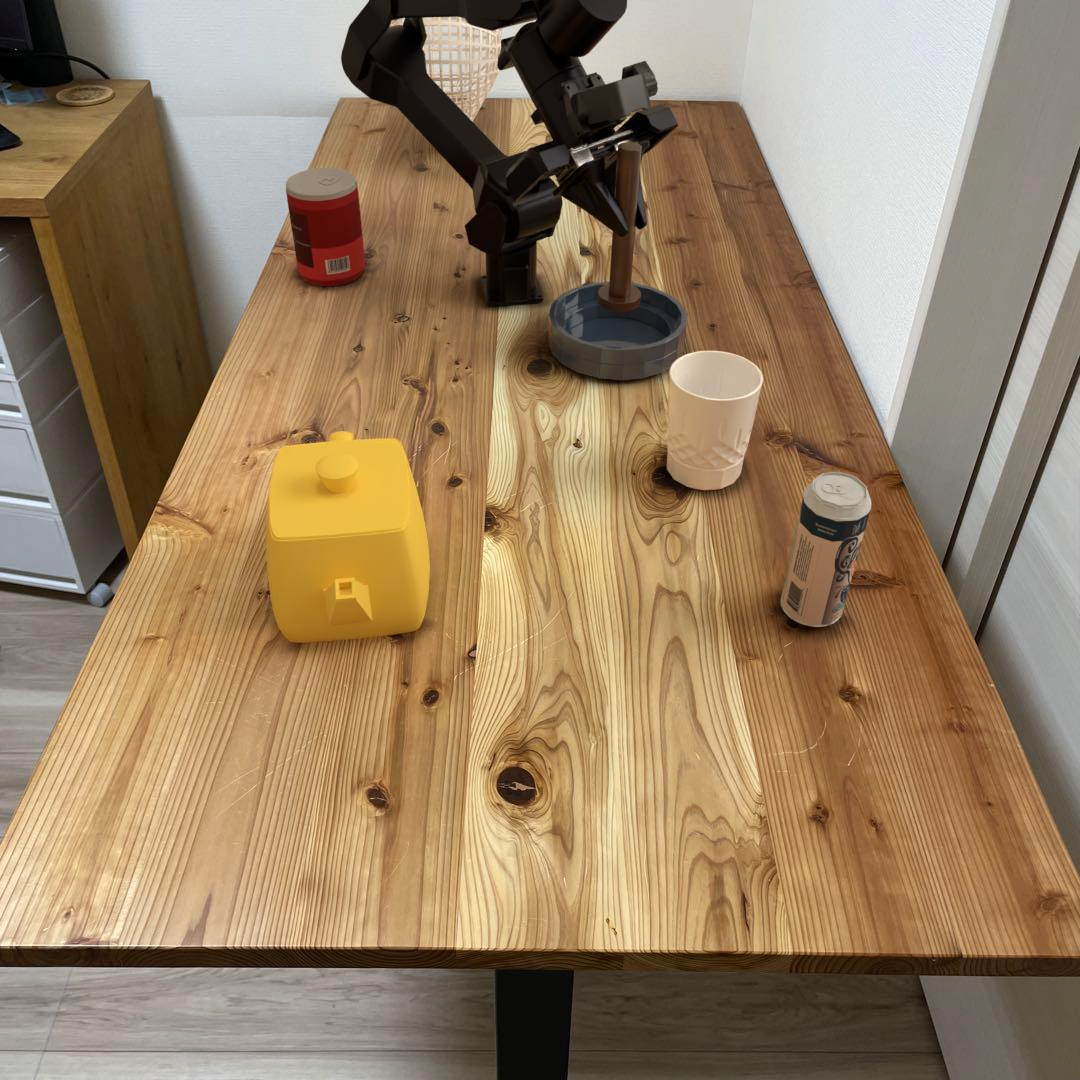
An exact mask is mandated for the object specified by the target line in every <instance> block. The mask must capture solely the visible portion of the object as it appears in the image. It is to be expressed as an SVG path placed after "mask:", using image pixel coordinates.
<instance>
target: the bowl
mask: <svg viewBox="0 0 1080 1080" xmlns="http://www.w3.org/2000/svg"><path fill="white" fill-rule="evenodd" d="M606 284H609V281H603V282H592V283H588V284H584V285H583V284H582V285H578V286H576V287H573V288H571V289H569V290H567V291H565V292H563V293H561V294H560V295H558V297H557V298H555V300H554V301H553V302H552V303H551V305H550V308H549V311H548V334H547V338H548V340H547V341H548V342H547V345H548V346H549V349H550V352H551V354H552V356H553V357H554V358H555V359H556V360H557V361H558V362H559V363H560V364H561V365H562V366H564V367H567V368H568V369H570V370H573V371H574V372H576V373H577V374H582V375H585V376H589V377H593V378H597V379H602V380H603V379H604V380H615V381H629V380H640V379H645V378H648V377H652V376H656V375H659V374H662V373H664V372H666V371H667V370H670V367H671V365H672V364H673V363H674V361H676V360H677V359H678V358H680V357H682V356H684V354H685V353H684V351H685V343H686V334H687V326H688V313H687V311H686V310H685V309H686V308H685V307H684V306H683V304H682V303H681V302H680V301H679V300H677V299H676V298H674V296H673V295H671V294H670V293H667V292H664V291H662V290H660V289H658V288H657V287H653V286H649V285H645V284H640V283H635V282H631V285H633V286H635V287H637V288H638V289H639V290H640V292H641V301H640V305H639V306H638V307H637V308H636V309H634V310H631V311H626V312H615V311H610V310H607V309H604V308H603V307H601V306H600V305H599V304H598V290H599V289H600V288H601V287H602V286H604V285H606Z"/></svg>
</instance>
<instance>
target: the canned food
mask: <svg viewBox="0 0 1080 1080" xmlns="http://www.w3.org/2000/svg"><path fill="white" fill-rule="evenodd" d="M285 192H286V201H287V207H288V214H289V220H290V227H291V233H292V240H293V245H294V246H293V247H294V253H295V260H296V265H297V270H298V273H299V275H300V277H301V279H303V281H305V282H306V283H308V284H310V285H313V286H318V287H337V286H343V285H345V284H346V285H347V284H349V283H352V282H354V281H356V280H357V279H358V278H360V277H361V276H362V275H363V274H364V271H365V268H366V256H365V246H364V245H365V244H364V235H363V225H362V216H361V214H362V213H361V205H360V195H359V187H358V181H357V177H356V175H355V174H354V173H353V172H351V171H349V170H347V169H342V168H336V167H317V168H310V169H306V170H302V171H299V172H297V173H295V174H293V175H290V177H289V178H288V179H286V181H285Z"/></svg>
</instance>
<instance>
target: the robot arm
mask: <svg viewBox="0 0 1080 1080" xmlns="http://www.w3.org/2000/svg"><path fill="white" fill-rule="evenodd" d="M627 8H628V0H368V1H367V3H366V4H365V5H364V7H363V8H362V9H361V10H360V11H359V13H358V14H357V16H356V17H355V18H354V19H353V20H352V22H351V23H350V24H349V26H348V28H347V32H346V36H345V39H344V43H343V47H342V50H341V54H340V55H341V56H340V61H341V67H342V70H343V72H344V74H345V76H346V78H348V80H349V82H350V83H351V84H352V85H353V86H354V87H355V88H356V89H358V90H359V91H360V92H361V93H362V94H364V95H365V96H366V97H367V98H369V99H370V100H372V101H375V102H378V103H382V104H384V105H388V106H391V107H394V108H396V109H397V110H399V112H400V113H401V114H402V115H403V116H404V117H405V118H406V119H407V120H408V121H409V123H411V124H412V126H413V127H414V128H415V129H416V130H417V131H418V132H419V133H420V134H421V135H422V136H423V138H425V139H426V141H427V142H428V143H429V144H430V145H431V146H432V147H433V148H434V149H435V150H436V151H437V152H438V153H439V155H440V156H441V157H442V158H443V159H444V160H445V161H446V162H447V163H448V165H450V166H451V168H452V169H453V170H454V171H455V172H456V173H457V174H458V175H459V176H460V177H461V178H462V179H463V181H464V182H465V183H466V184H467V185H468V186H469V187H470V189H471V191H472V196H473V203H474V204H473V205H474V212H475V215H473V217H472V218H470V219H469V221H468V222H467V223H466V224H465V225H464V230H465V234H466V237H467V241H468V242H467V243H468V245H469V246H471V247H473V248H475V249H476V250H478V251H481V252H482V253H484V254H485V275H481V276H479V282H480V286H481V289H482V293H483V296H484V300H485V303H486V305H488V307H489V306H490V307H493V306H505V305H518V304H529V303H530V304H532V303H542V302H544V300H545V296H544V293H543V290H542V287H541V285H540V282H539V279H538V277H537V276H538V274H537V272H538V266H537V263H538V241H541V240H544V239H547V238H551V237H554V233H555V230H556V227H557V224H558V223H559V221H560V218H561V214H562V209H563V199H565V200H567V201H569V202H570V203H572V204H574V205H575V206H576V207H579V208H580V209H581V210H583V211H584V212H585V213H587V214H589V215H590V216H591V217H593V218H594V219H595V220H597V221H598V222H600V224H602V225H603V226H604V227H606V228H607V229H609V230H610V231H611V232H612V233H613V232H614V233H616V234H617V235H618V236H620V237H624V236H625V235H627V234H628V233H629V229H628V226H627V224H626V221H625V218H624V216H623V214H622V212H621V210H620V208H619V206H618V204H617V201H616V199H615V185H616V169H617V154H618V145H619V144H620V143H623V142H634V143H638V144H640V145H641V146H642V150H641V161H642V160H643V156H644V155H645V154H647V153H649V152H650V151H651V150H652V149H654V148H655V147H656V146H657V145H658V144H660V143H661V142H662V141H663V140H664V139H665V138H667V137H668V136H669V135H670V134H671V133H672V132H674V131H675V130H676V129H677V128H678V127H679V123H678V121H677V119H676V118H675V115H674V113H673V111H672V110H671V108H670V107H669V106H666V105H663V104H661V103H658V104H655V105H653V106H652V103H651V99H650V98H652V97H654V96H656V95H657V93H658V91H659V89H658V88H659V87H658V81H657V78H656V76H655V72H654V71H653V70H652V69H651V67H650V65H649V64H648V63H647V61H646V60H642V61H638V62H636V63H633V64H629V65H627V66H623V67H622V70H621V79H619V80H615V81H612V82H609V83H605V81H604V79H603V77H602V76H601V74H598V72H596V71H595V72H593V73H589V74H587V71H586V70H585V68H584V66H583V64H582V62H581V60H580V58H582V57H585V56H587V55H588V54H590V53H591V52H592V51H593V49H594V48H595V47H596V46H597V45H598V44H599V43H600V42H601V40H603V39H604V37H605V36H606V35H607V34H608V33H609V32H610V31H611V30H612V29H613V27H614V26H615V25H616V24H617V23H618V22H619V21H620V20H621V18H622V17H623V16H624V14H625V13H626V11H627ZM428 17H430V18H431V17H433V18H435V17H461V18H464V19H465V20H466V21H467V24H470V25H472V26H476V27H479V28H483V29H486V30H491V31H493V30H497V29H501V28H502V29H504V28H509V27H514V26H517V25H521V24H523V25H522V26H521V27H520V28H519V29H518V31H517V32H516V33H515V35H512V36H509V37H506V38H501V50H500V54H499V56H498V64H497V67H498V69H499V71H505V70H509V69H511V68H514V69H515V71H516V73H517V74H518V77H519V78H520V80H521V83H522V84H523V86H524V88H525V90H526V92H527V93H528V95H529V98H530V100H531V102H532V104H533V105H534V107H535V110H534V111H532V113H531V114H530V116H529V117H530V118H531V121H532V123H533V125H534V126H538V125H540V124H544V126H545V128H546V130H547V132H548V133H549V136H550V137H551V140H549V141H547V142H544V143H541V144H537V145H534V146H532V147H529V148H528V149H527V150H524V151H520V152H517V153H515V154H511V155H506V154H504V153H503V152H502V151H501V150H500V149H499V148H498V147H497V146H496V145H495V144H494V143H493V141H492V140H491V139H489V137H488V136H487V135H486V134H485V133H484V132H483V131H482V129H480V128H479V127H478V126H477V124H476V123H474V121H473V122H472V121H471V120H470V119H469V118H468V116H467V115H466V114H465V113H466V112H465V113H464V112H463V111H462V110H461V109H460V108H459V107H458V106H457V105H456V104H455V103H454V102H455V101H454V102H453V101H452V98H451V99H450V97H448V96H447V94H446V93H445V92H444V91H445V90H444V91H443V90H442V89H441V86H438V85H437V84H436V83H437V82H436V83H435V82H434V81H433V80H432V79H431V78H430V75H428V74H427V68H426V59H425V51H423V50H422V49H423V48H424V47H425V45H424V44H425V41H426V40H427V39H428V37H427V34H428V33H427V29H426V30H425V27H424V23H423V18H425V19H427V18H428ZM401 18H402V19H404V20H403V22H402V24H403V25H394V26H390V24H391V21H392V20H397V19H401ZM389 26H390V27H389ZM634 112H635V113H634ZM632 113H633V115H632ZM628 117H629V119H628ZM624 121H625V122H624ZM622 123H623V124H622ZM621 124H622V125H621ZM620 125H621V126H620ZM617 126H620V127H619V128H618V129H617V130H615V128H616V127H617ZM641 164H642V162H641V163H640V165H641ZM553 176H555V180H556V182H557V184H558V185H557V184H556V182H555V181H554V179H552V178H551V177H553ZM641 176H642V175H641V173H640V175H639V188H638V201H637V214H636V227H635V228H637V230H643V229H644V228H645V227H646V226H648V220H647V219H648V218H647V212H646V206H645V199H644V193H643V186H642V177H641Z"/></svg>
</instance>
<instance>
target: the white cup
mask: <svg viewBox="0 0 1080 1080" xmlns="http://www.w3.org/2000/svg"><path fill="white" fill-rule="evenodd" d="M763 381H764V375H763V373H762V371H761V369H760V368H759V367H758V366H757V365H756V364H755V363H754V362H752V361H751V360H749V359H747V358H745V357H743V356H741V355H740V354H739V355H738V354H735V353H731V352H728V351H727V352H726V351H723V350H699V351H693V352H689V353H687V354H683V355H682V356H681V357H680V358H678V359H677V360H676V361H674V363H673V364H672V365H671V367H670V368H669V374H668V392H667V393H668V395H667V408H666V409H667V410H666V419H667V421H666V440H665V441H666V444H667V452H666V456H667V457H666V471H667V472H668V473H669V474H670V476H671V477H672V479H673V480H674V481H676V482H677V483H679V484H681V485H683V486H685V487H687V488H690V489H695V490H701V491H716V490H722V489H724V488H726V487H728V486H731V485H734V483H735V482H736V481H737V480H738V479H739V477H740V476H741V474H742V470H743V465H744V460H745V455H746V452H747V449H748V446H749V442H750V439H751V434H752V432H753V427H754V424H755V419H756V413H757V409H758V405H759V401H760V396H761V391H762V387H763V383H764V382H763Z"/></svg>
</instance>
